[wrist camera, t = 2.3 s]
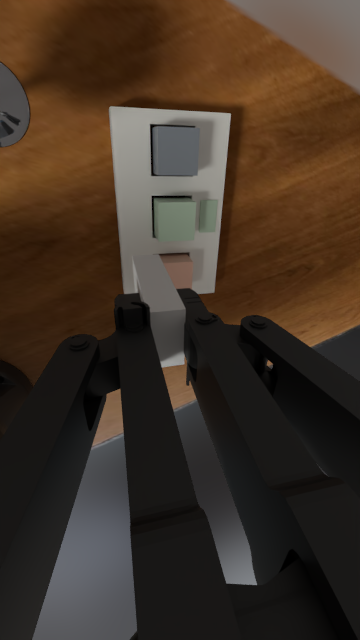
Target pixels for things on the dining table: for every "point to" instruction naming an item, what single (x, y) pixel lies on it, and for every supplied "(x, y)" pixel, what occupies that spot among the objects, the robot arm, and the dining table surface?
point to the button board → (168, 188)
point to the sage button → (174, 219)
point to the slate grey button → (175, 150)
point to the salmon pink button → (179, 269)
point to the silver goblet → (12, 108)
